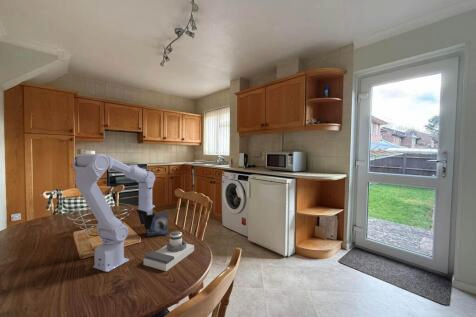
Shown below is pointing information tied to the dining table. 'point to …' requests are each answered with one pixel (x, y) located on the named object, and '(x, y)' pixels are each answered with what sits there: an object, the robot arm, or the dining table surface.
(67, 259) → the dining table surface
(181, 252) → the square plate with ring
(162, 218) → the small box
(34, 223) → the dining table surface
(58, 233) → the dining table surface
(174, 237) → the lens
